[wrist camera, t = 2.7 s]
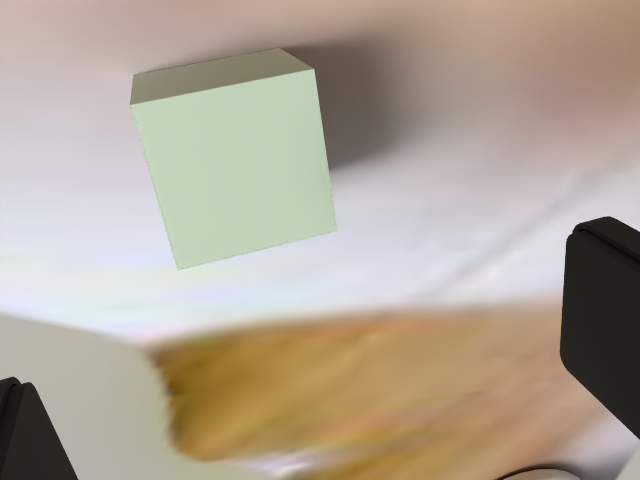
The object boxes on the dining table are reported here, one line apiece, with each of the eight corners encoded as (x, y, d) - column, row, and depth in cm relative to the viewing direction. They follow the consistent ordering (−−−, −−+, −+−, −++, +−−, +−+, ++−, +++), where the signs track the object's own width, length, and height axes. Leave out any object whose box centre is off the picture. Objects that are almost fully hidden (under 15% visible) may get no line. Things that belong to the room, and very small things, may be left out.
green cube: (278, 47, 25) (313, 68, 19) (300, 180, 27) (337, 230, 22) (133, 74, 24) (130, 105, 18) (171, 210, 26) (177, 270, 21)
